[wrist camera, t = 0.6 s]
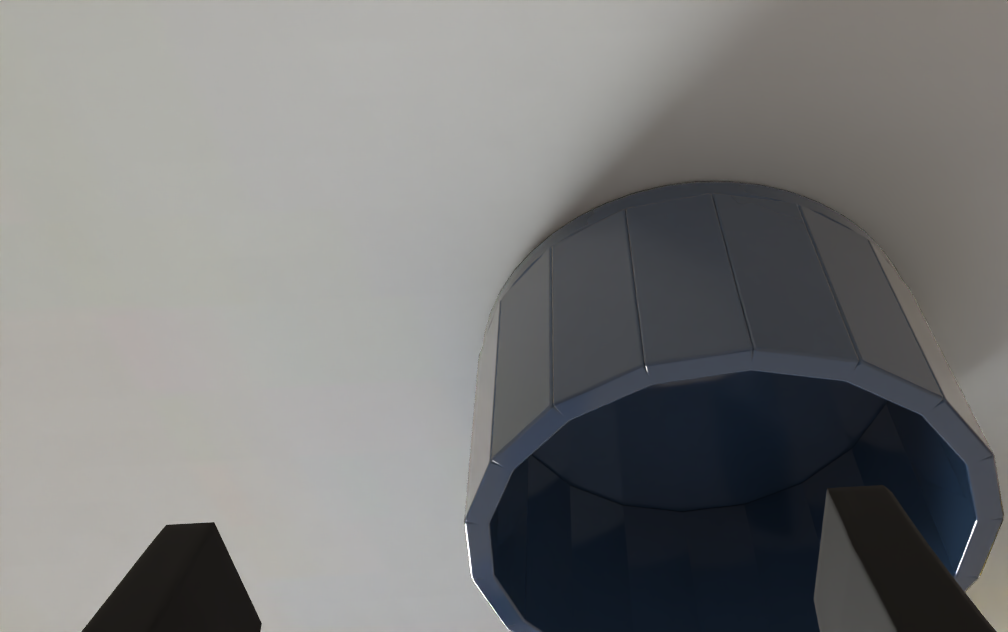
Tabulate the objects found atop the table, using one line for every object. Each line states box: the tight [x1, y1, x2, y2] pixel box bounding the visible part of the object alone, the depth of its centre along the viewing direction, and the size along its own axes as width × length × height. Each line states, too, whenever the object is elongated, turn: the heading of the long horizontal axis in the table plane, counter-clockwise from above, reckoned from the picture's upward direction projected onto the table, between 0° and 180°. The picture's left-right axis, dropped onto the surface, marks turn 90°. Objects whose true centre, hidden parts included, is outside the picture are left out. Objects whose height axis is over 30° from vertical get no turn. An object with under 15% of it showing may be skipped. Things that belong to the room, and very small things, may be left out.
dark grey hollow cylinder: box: [464, 182, 1004, 632], centre depth 20 cm, size 10×10×6 cm
